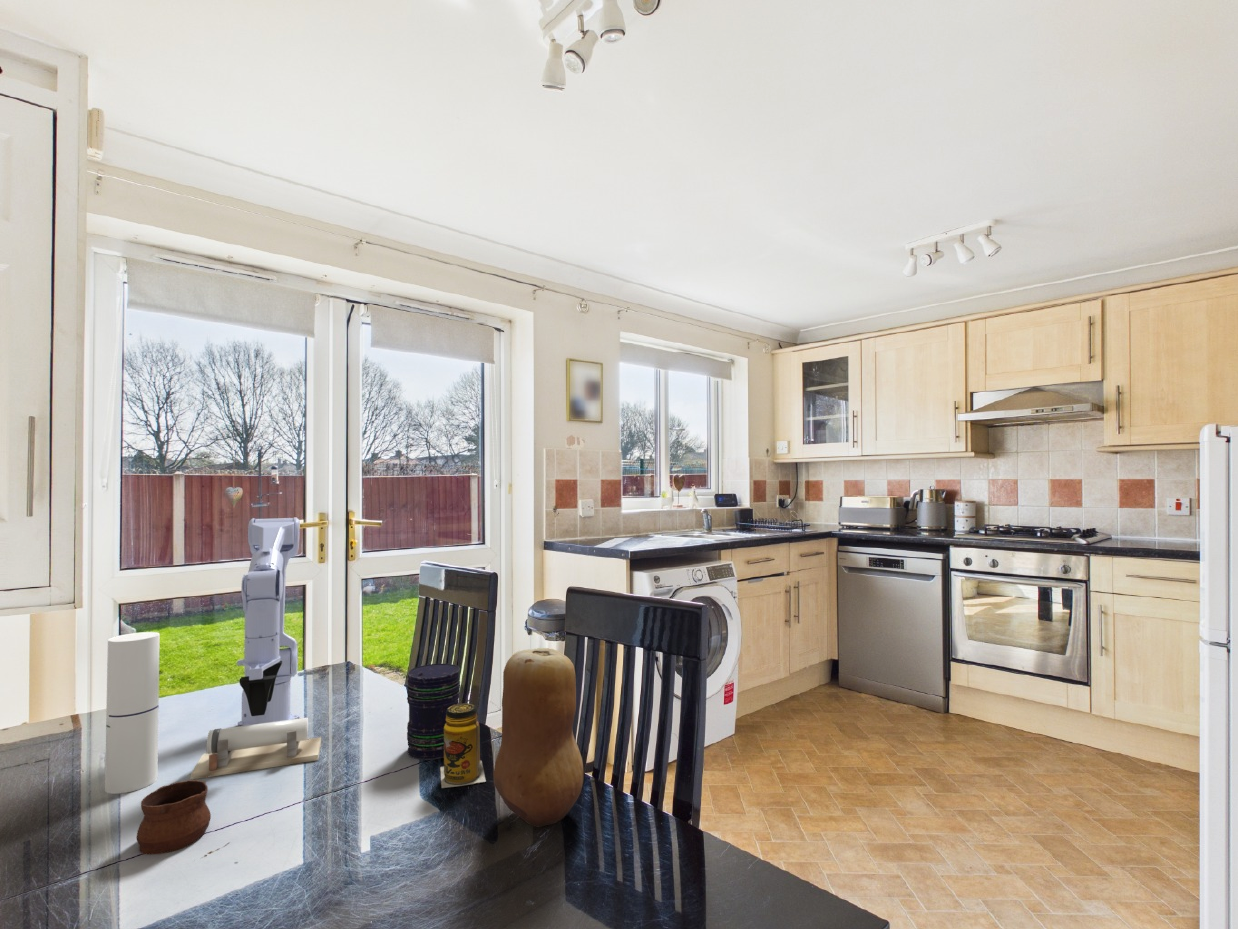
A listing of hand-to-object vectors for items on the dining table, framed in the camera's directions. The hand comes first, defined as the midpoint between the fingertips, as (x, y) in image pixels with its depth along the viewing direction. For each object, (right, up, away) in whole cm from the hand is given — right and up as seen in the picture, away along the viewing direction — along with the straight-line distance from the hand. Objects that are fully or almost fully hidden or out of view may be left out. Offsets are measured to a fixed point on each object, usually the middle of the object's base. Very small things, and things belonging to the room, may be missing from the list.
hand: (261, 708), depth 118 cm
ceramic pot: (+3, -9, -27) cm, 28 cm away
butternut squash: (+55, -8, -22) cm, 60 cm away
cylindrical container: (-17, -9, -10) cm, 22 cm away
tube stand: (0, -9, -1) cm, 9 cm away
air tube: (0, -5, 0) cm, 5 cm away
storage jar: (+31, -9, +4) cm, 33 cm away
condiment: (+39, -9, -8) cm, 41 cm away
